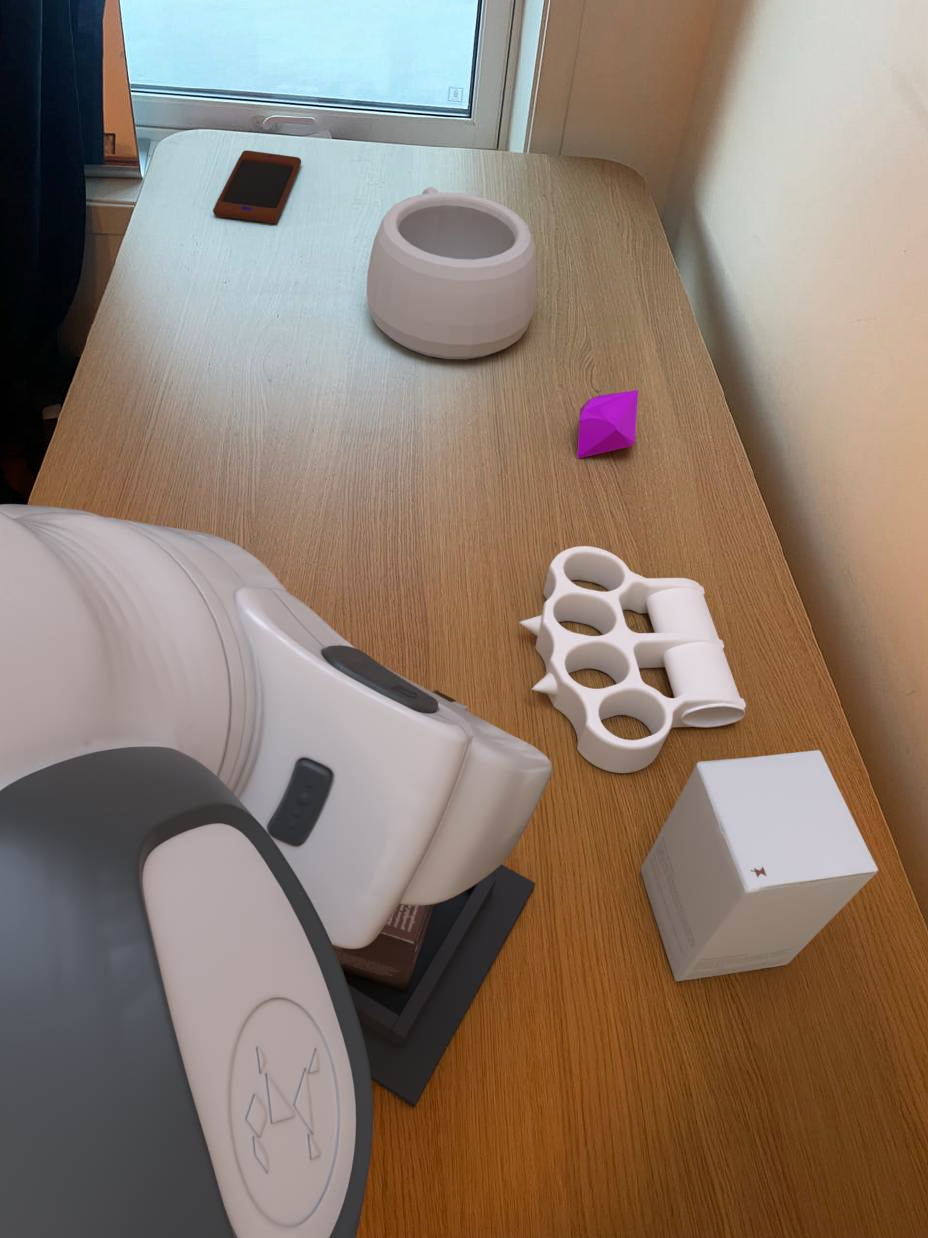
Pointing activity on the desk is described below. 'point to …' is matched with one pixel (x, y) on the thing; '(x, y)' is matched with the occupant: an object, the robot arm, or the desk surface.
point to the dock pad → (437, 984)
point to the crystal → (607, 423)
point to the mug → (452, 275)
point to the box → (391, 949)
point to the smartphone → (258, 187)
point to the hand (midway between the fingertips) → (346, 663)
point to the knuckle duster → (630, 656)
